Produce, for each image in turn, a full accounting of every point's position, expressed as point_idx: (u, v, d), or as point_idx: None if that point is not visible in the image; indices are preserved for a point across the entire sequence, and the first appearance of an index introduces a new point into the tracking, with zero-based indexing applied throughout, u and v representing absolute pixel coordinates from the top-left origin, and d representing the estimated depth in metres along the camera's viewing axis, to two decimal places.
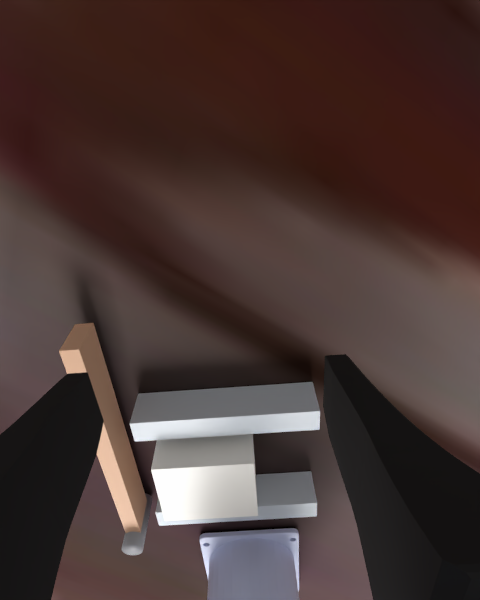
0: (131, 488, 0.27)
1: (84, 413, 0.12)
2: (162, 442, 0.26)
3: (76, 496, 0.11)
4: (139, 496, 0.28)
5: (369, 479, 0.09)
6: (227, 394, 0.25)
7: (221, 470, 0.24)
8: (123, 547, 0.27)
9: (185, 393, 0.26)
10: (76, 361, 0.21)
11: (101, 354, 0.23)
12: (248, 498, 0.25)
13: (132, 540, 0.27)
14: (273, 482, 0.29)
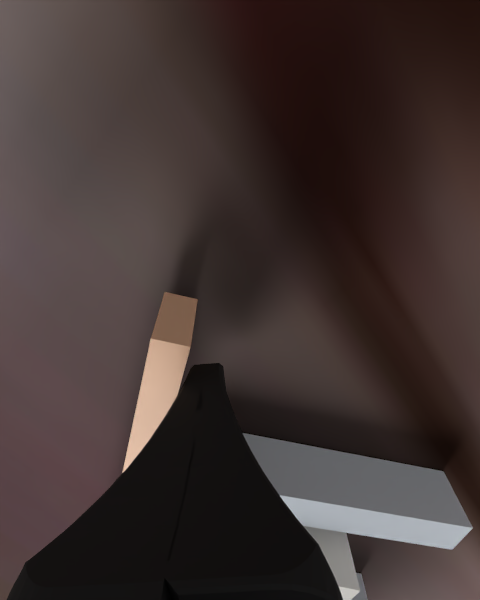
0: None
1: None
2: None
3: None
4: None
5: None
6: (332, 462, 0.16)
7: None
8: None
9: (268, 443, 0.16)
10: (172, 366, 0.11)
11: None
12: None
13: None
14: None
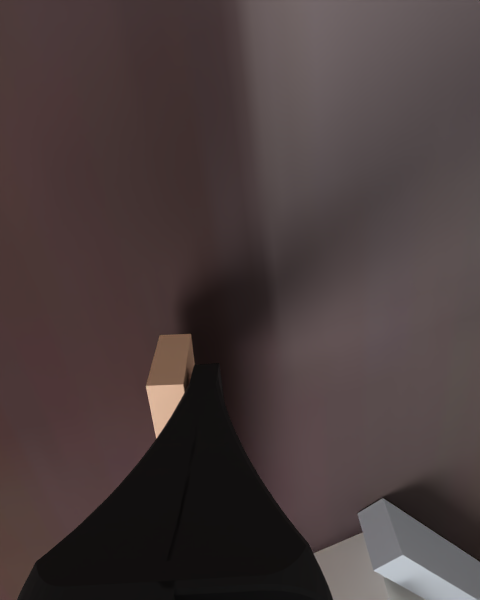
0: None
1: None
2: None
3: None
4: None
5: None
6: (459, 558, 0.20)
7: None
8: None
9: (425, 530, 0.19)
10: (174, 404, 0.11)
11: None
12: None
13: None
14: None
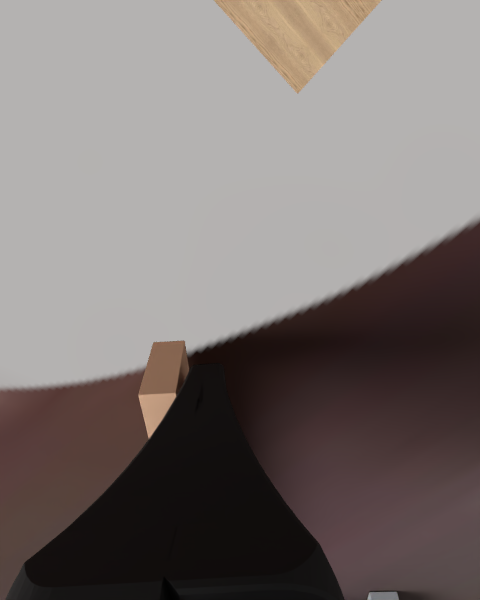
0: None
1: None
2: None
3: None
4: None
5: None
6: None
7: None
8: None
9: None
10: None
11: None
12: None
13: None
14: None
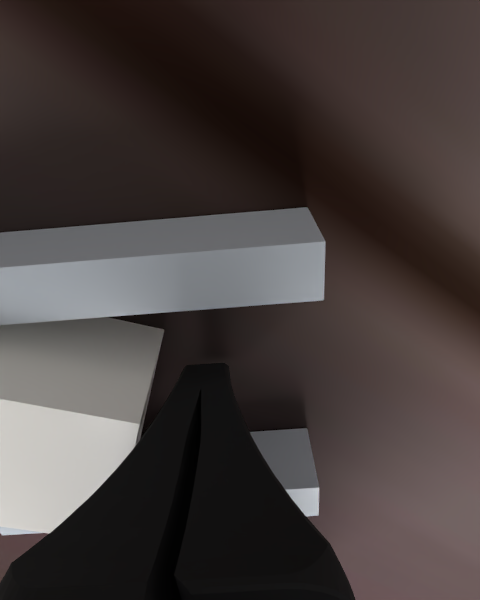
0: None
1: None
2: None
3: None
4: None
5: None
6: (108, 231, 0.11)
7: (53, 422, 0.10)
8: None
9: (15, 234, 0.11)
10: None
11: None
12: None
13: None
14: None
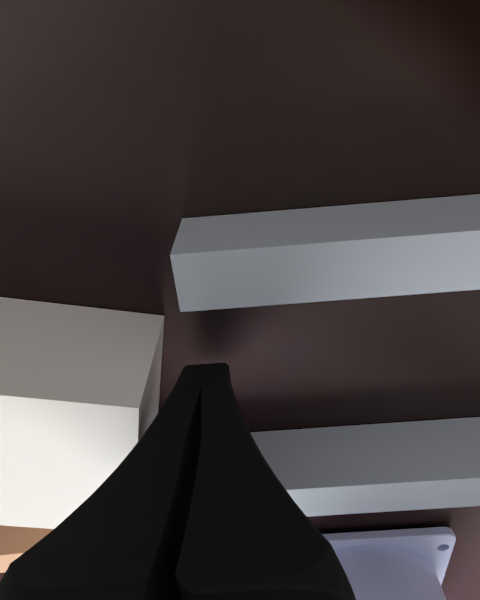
0: (48, 529, 0.14)
1: None
2: None
3: None
4: None
5: None
6: (397, 208, 0.11)
7: (52, 414, 0.09)
8: None
9: (293, 212, 0.11)
10: None
11: None
12: None
13: None
14: (443, 435, 0.15)
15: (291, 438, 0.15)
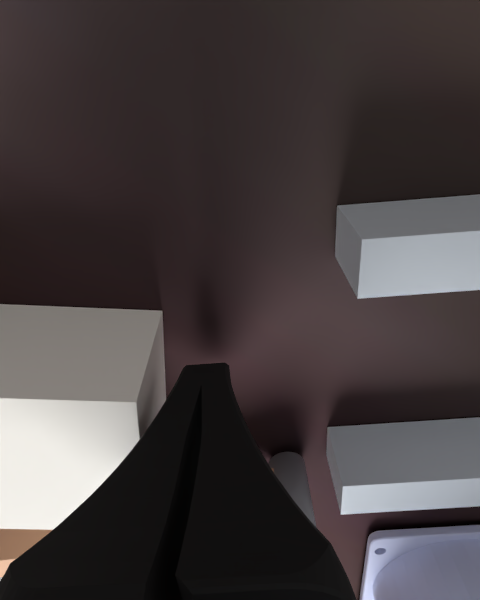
0: None
1: None
2: None
3: None
4: None
5: None
6: None
7: (52, 414, 0.09)
8: None
9: (454, 199, 0.11)
10: None
11: None
12: None
13: None
14: None
15: (407, 430, 0.15)
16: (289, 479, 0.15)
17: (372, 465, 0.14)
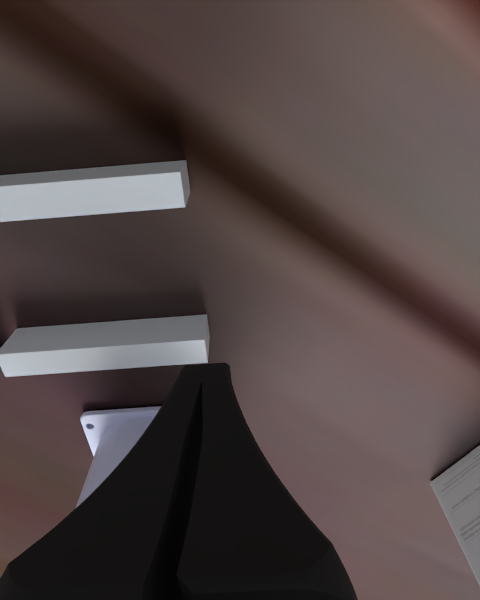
0: None
1: None
2: None
3: None
4: None
5: None
6: (68, 172, 0.19)
7: None
8: None
9: (15, 174, 0.19)
10: None
11: None
12: None
13: None
14: (155, 324, 0.23)
15: (62, 328, 0.23)
16: None
17: (22, 345, 0.22)
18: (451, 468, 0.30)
